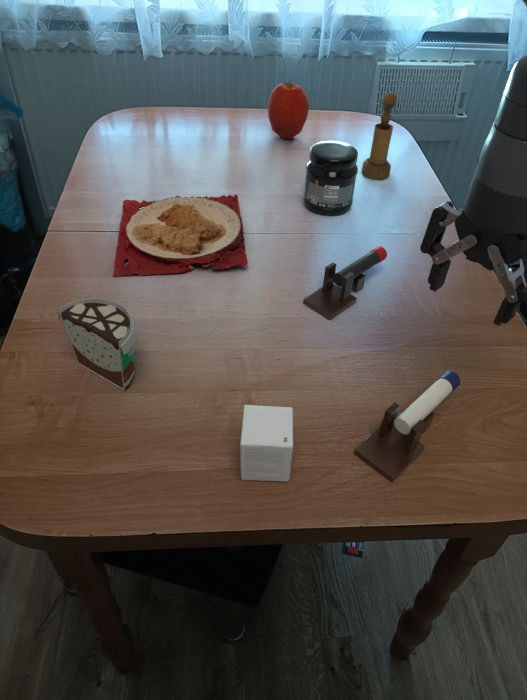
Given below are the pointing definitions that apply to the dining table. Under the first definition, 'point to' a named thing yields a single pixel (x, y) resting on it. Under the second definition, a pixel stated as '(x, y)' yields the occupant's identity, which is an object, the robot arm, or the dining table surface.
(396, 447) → the white marker stand
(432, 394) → the white marker
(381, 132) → the mortar and pestle
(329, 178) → the supplement container
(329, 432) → the dining table surface
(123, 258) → the plate with food
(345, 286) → the black marker stand
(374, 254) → the black marker
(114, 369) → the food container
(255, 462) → the product box
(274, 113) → the apple
